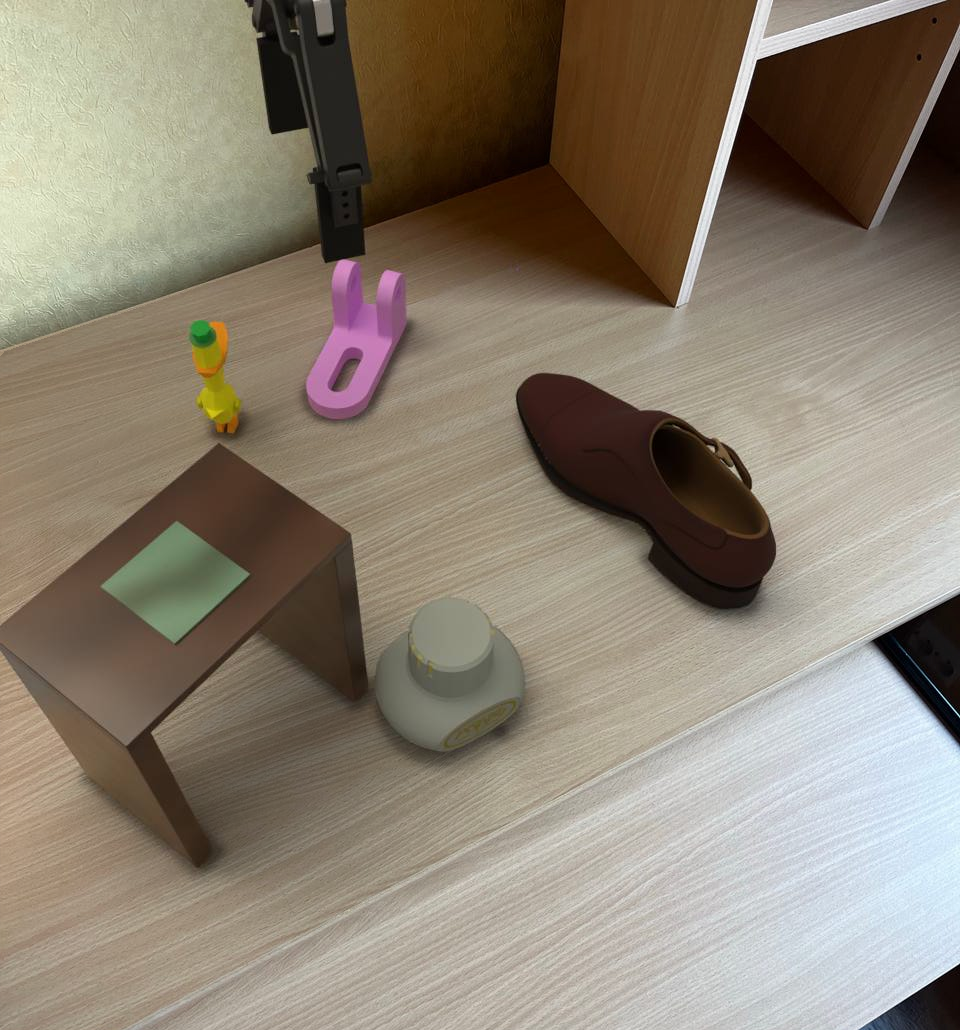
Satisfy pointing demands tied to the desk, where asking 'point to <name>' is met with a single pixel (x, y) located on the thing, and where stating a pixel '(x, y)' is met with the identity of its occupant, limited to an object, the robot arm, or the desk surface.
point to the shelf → (183, 624)
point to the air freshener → (449, 676)
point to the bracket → (357, 340)
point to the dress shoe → (654, 484)
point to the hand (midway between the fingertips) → (315, 189)
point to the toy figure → (214, 374)
